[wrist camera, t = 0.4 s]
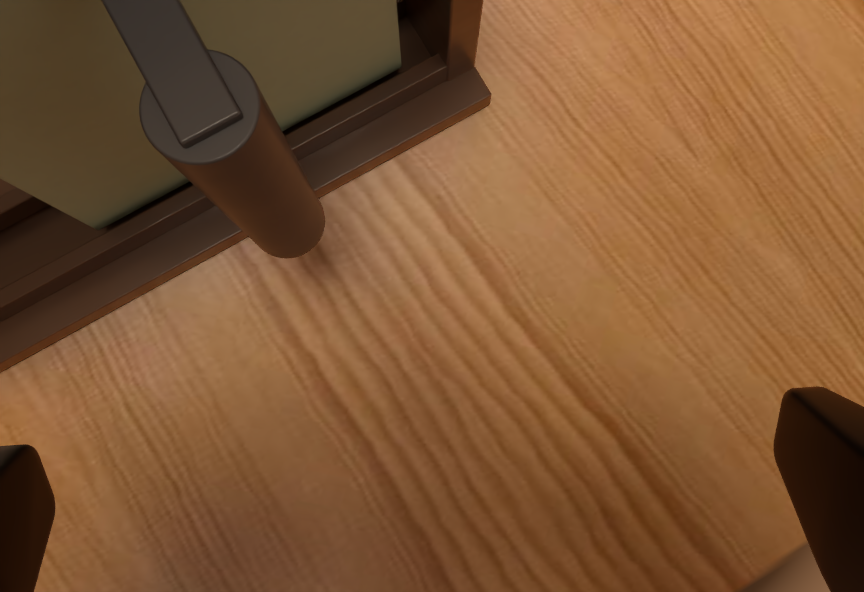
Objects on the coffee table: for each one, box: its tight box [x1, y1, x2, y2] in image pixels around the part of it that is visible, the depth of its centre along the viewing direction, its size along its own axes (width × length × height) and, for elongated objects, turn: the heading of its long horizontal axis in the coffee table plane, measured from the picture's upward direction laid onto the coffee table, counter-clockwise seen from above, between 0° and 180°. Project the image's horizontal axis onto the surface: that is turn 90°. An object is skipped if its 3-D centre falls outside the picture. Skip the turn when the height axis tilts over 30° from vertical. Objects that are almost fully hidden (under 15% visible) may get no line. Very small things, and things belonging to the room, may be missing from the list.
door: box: [0, 0, 402, 258], centre depth 17 cm, size 6×10×12 cm, turn 120°
